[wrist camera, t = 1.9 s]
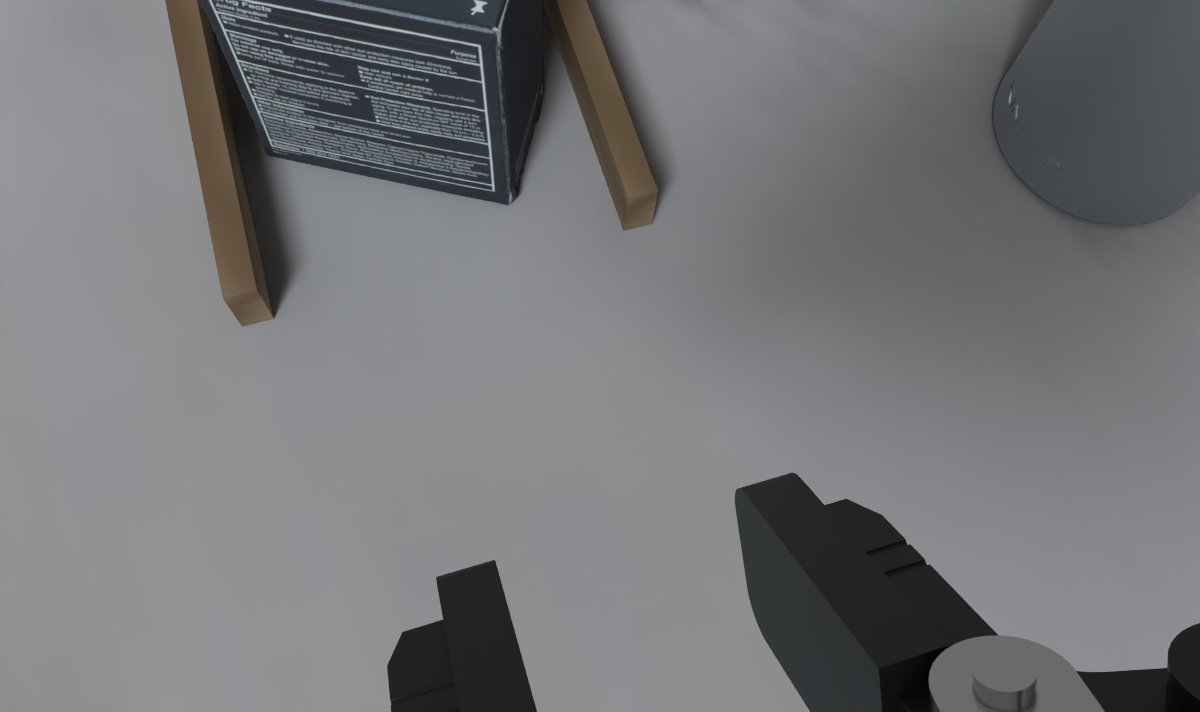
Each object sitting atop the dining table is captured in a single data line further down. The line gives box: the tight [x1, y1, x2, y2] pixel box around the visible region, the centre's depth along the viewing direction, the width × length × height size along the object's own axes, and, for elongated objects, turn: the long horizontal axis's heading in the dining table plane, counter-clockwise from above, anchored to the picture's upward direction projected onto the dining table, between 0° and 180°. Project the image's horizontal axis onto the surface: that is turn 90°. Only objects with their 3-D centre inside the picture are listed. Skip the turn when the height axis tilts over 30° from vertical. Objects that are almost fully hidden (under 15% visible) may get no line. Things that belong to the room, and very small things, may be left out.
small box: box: [200, 0, 544, 205], centre depth 39 cm, size 11×6×10 cm, turn 78°
